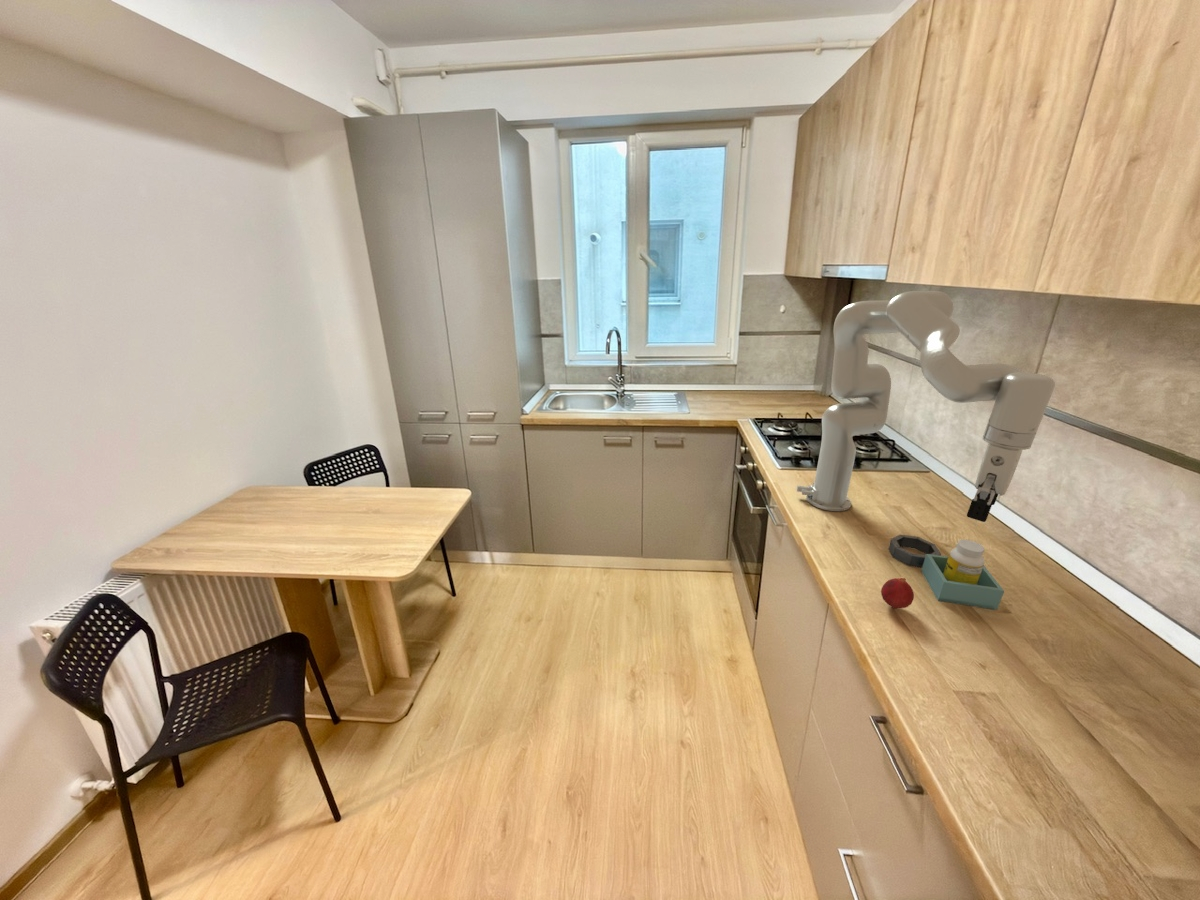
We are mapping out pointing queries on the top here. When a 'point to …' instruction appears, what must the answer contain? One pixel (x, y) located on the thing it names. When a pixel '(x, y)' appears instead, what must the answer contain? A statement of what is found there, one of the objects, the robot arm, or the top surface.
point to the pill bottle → (965, 562)
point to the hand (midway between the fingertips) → (980, 510)
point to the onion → (897, 593)
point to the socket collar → (914, 543)
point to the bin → (961, 585)
